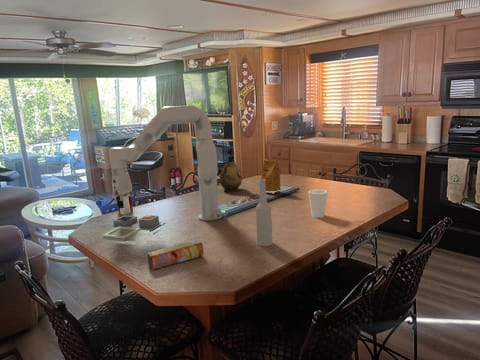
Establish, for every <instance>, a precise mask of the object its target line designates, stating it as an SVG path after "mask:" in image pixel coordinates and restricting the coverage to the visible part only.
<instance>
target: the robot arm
mask: <svg viewBox="0 0 480 360" xmlns="http://www.w3.org/2000/svg"><path fill="white" fill-rule="evenodd" d="M183 124H192V125H193V127H194V135H195V151H196V157H197V158H196V159H197V174H198V175H197V178H198V189H199V202H200V214H198V219H199V220H200V221H205V222H209V221H210V222H211V221H216V220H217V221H218V220H220V219H221V218H223V216H224V217H226V215H227V213H226V211H225V210H221V209H222V208H220V205H219V195H218V194H219V191H218V189H219V188H218V179H217V176H218V170H219V169H218V158H217V148H216V145H215V143H214V140H213V133H212V132H213V131H212V124H211V120H210V118H209V116H208V115H207V113H206V112H205V111H204V110H203V109H202V108H199V106H196V105H193V104H189V105H188V104H187V105H175V106H172V105H170V106H168V105H167V106H163V107H161V108H160V109H159V111H158V112H157V114H155V115H154V116H153V118H151V120H149V122H148V123H147V124H146V125H145V126H144V128H143V129H142V131H141V133H140V134H139V135H138V136H137V137H136V138H135V139H134V140H133V142H132V143H130V144H129V145H128V146H125V147H123V146H115V147H114V146H113V147H109V149H108V155H109V162H110V170H111V187H112V194H111V198H114V200H115V201H116V204H117V209H118V208H124V205H123V200H122V195H124V194H126V193H128V197H129V205H131V201H130V197H132V191H133V184H132V179H131V176H130V174H129V172H128V171H129V170H128V166H127V162H135V161H137V160H138V159H139V158H140V157H141V156H142V155H143V154H144V153H145V151H147V149H149V148H150V146H151V145H153V143H155V142H156V141H157V140H158V139H159V138H160V137H161V136H162V135H163V134H164V133H165V132H166V131H167V130H168V129H169V127H171V125H183ZM130 194H131V195H130ZM118 196H120V197H118Z"/></svg>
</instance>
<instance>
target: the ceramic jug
mask: <svg viewBox="0 0 480 360" xmlns="http://www.w3.org/2000/svg"><path fill="white" fill-rule="evenodd" d="M234 153H235V151H234V147H233V146H230V147H229V148H228V150H226V154H227V155H228V159H227V162H226V163H225V165H224V166H223V168H222V170H221V171H220V177H219V183H220V186H221V187H222V188H223V189H224V192H227V191H232V192H237V191H238V190H239V188H240V186H241V185H242V183H243V175H242V172H241V169H239V166H238V165H237V164H236V162H235V161H234ZM236 190H237V191H236Z"/></svg>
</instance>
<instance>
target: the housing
mask: <svg viewBox="0 0 480 360" xmlns="http://www.w3.org/2000/svg"><path fill="white" fill-rule="evenodd" d="M151 215H152V216H153V218H152V219H145V218H144V216H141V217H140V218H138V216H134V215H122V216H120V217H117V218H115V219H113V220H112V221H113V222H112V223H113V225H112V227H120V226H122V227H133V228H140V229H147V230H150V231H149V233H152V232H153V231H155V230H156V229H158V228H159V227H161V226H162V225H163V224H162V222H161V221H160V219H159V217H160V216H159V215H153V214H151Z"/></svg>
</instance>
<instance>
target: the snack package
mask: <svg viewBox="0 0 480 360" xmlns="http://www.w3.org/2000/svg"><path fill="white" fill-rule="evenodd" d="M203 255H204V245H203V242H202V241H201V240H199V239H198V238H197V239H196V238H195V239H193V240H189V241H186V242H182V243H178V244H174V245H171V246H168V247H164V248H161V249H157V250H155V251H148V252H147V255H146V256H147V263H148V266H149V267H150V269H151V270H157V269H161V268H163V267H164V268H165V267H168V266H171V265H175V264H179V263H182V262H184V261H189V260H194V259H197V258H202V257H203Z"/></svg>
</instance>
